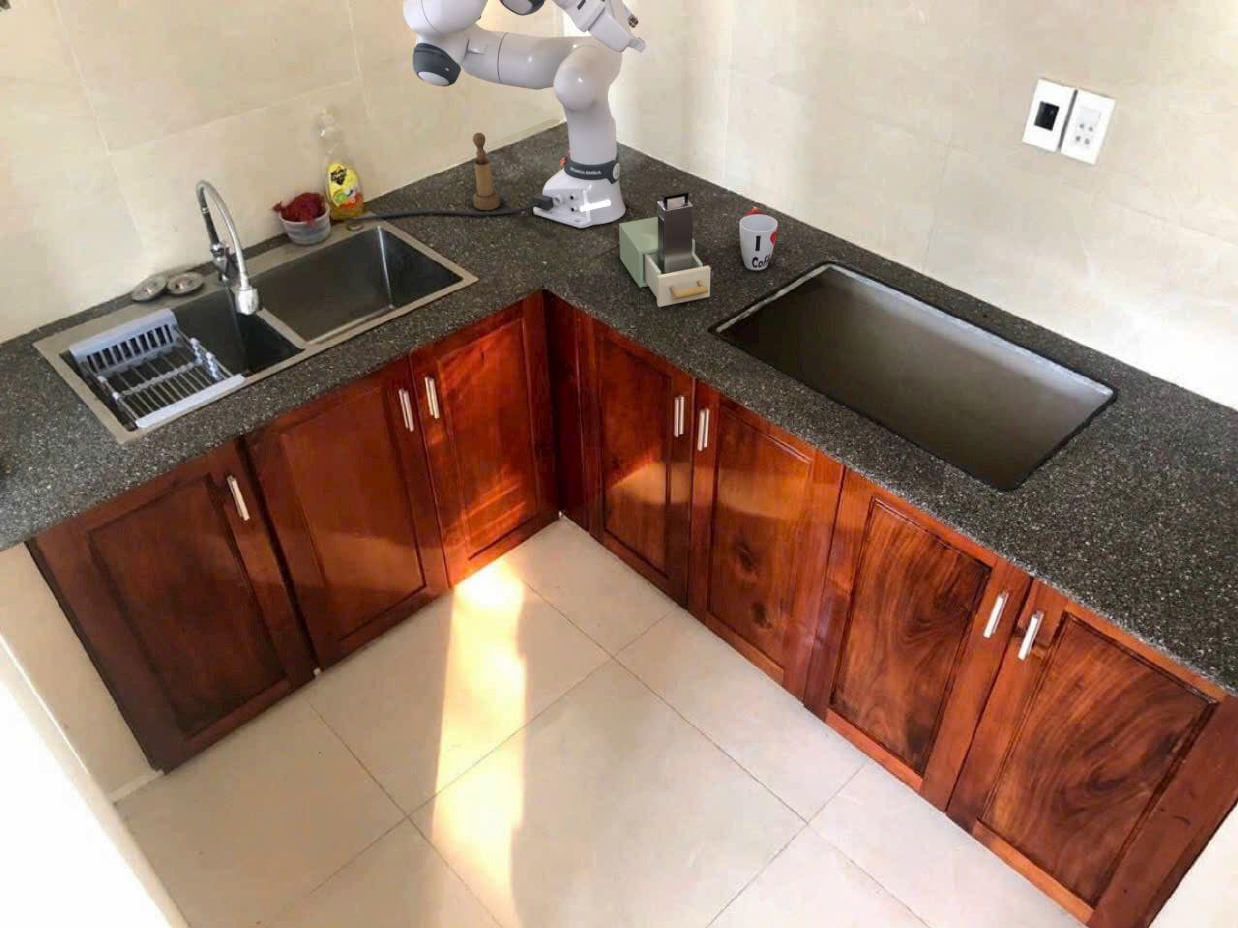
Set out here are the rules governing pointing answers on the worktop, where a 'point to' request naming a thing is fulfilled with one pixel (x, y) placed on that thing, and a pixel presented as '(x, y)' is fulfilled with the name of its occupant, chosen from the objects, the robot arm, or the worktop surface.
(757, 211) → the onion
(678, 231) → the grater
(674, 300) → the drawer
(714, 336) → the worktop surface
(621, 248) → the cabinet
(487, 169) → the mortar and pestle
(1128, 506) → the worktop surface
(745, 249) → the cup
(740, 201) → the worktop surface
